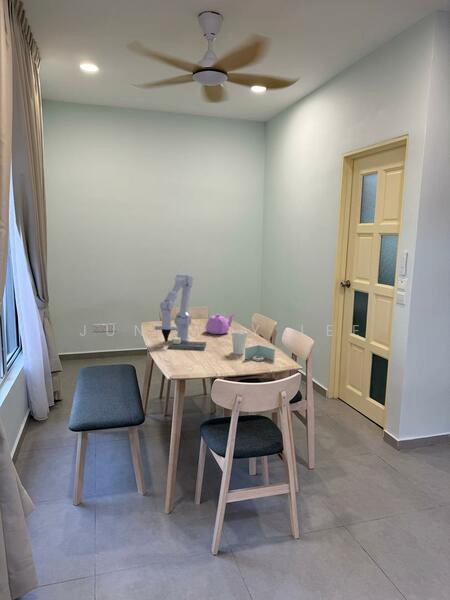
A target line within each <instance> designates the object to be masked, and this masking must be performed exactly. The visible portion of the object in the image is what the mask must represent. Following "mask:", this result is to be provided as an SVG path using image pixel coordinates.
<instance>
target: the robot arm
mask: <svg viewBox="0 0 450 600" xmlns="http://www.w3.org/2000/svg"><path fill="white" fill-rule="evenodd" d="M193 279H194V278H193V277H192V275H191V274H183V273H177V274H176V275H175V278H174V280H175V283H174V285H173V287H172V288H171V291H168V293H167V295H166V297H165V298H164V300H163V301H161V303H160V305H159V308H160V312H161V325H160V326H159V325H157V326H156V325H155V326H154V330H155V331H156V330H157V331H158V330H159V331H161V334H162V336H163V339H164V342H167V343H168V339H169V336H170V334H171V331H176V337H179V338H181V341H189V339H190V337H189V327H190V326H191V324H192V320H191V319H192V316H191V314H189V313H188V311H189V303H190V296H191V288H192V286H193ZM180 289H182V292H181V298H180V308H179V312H177V313H175V314H176V316H175V318H174V324H175V326H172V310H174V305H175V301H176V299H177V297H178V292H179V291H180Z"/></svg>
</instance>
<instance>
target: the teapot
mask: <svg viewBox="0 0 450 600" xmlns="http://www.w3.org/2000/svg"><path fill="white" fill-rule="evenodd" d="M234 316H235V313H234V314H231V315H230V316H229V317H228V321H227V319H226V317H225V316H222V315H221V314H220V313H215V315H211V316H210V317H209V318H208V321H207V322H206V325H205V330H206V332H207V333H209V334H211V335H224V334H226V333H228V332H229V331H230V327H231V326H232V324H233V323H232V321H233V320H232V319H233V317H234Z"/></svg>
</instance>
